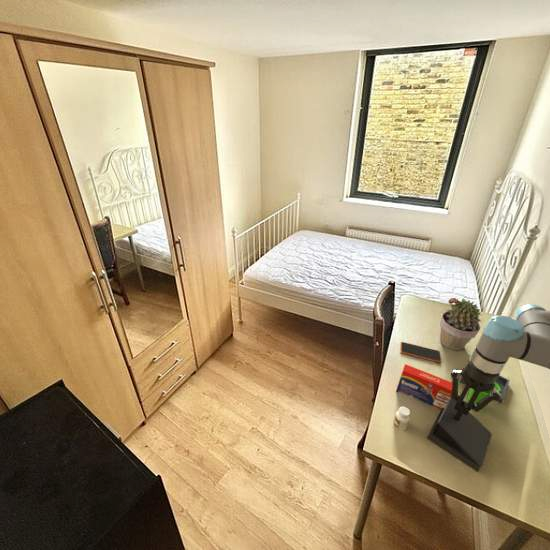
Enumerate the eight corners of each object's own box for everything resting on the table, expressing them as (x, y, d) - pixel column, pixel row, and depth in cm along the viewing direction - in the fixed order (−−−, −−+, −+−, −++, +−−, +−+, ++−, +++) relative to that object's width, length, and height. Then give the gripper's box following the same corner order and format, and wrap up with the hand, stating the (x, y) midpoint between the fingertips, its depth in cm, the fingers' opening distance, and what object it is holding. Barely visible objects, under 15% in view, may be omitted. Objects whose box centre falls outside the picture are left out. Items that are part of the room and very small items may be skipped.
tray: (507, 383, 118) (509, 380, 117) (501, 404, 110) (503, 400, 109) (468, 364, 126) (470, 361, 125) (459, 382, 118) (461, 378, 117)
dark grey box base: (426, 439, 97) (428, 433, 95) (439, 413, 106) (442, 407, 104) (476, 473, 88) (480, 467, 87) (486, 441, 97) (490, 435, 95)
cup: (494, 415, 105) (507, 395, 100) (470, 415, 105) (481, 395, 100) (479, 394, 113) (490, 374, 108) (456, 394, 113) (466, 374, 108)
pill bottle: (391, 418, 103) (396, 404, 100) (403, 419, 103) (408, 405, 99) (395, 430, 100) (400, 416, 96) (408, 431, 99) (413, 417, 96)
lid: (437, 422, 92) (439, 421, 91) (450, 395, 100) (452, 394, 100) (479, 466, 87) (482, 466, 86) (490, 434, 95) (492, 434, 95)
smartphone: (400, 342, 138) (400, 341, 137) (439, 352, 133) (439, 350, 132) (400, 353, 132) (400, 351, 131) (441, 363, 127) (441, 362, 126)
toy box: (448, 406, 108) (458, 384, 103) (447, 414, 105) (457, 392, 100) (398, 384, 117) (404, 363, 111) (395, 391, 114) (402, 370, 108)
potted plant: (486, 353, 133) (508, 308, 120) (449, 360, 129) (469, 314, 116) (456, 328, 148) (473, 286, 136) (423, 333, 144) (437, 291, 132)
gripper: (515, 370, 81) (483, 422, 92) (463, 346, 88) (439, 397, 100) (510, 386, 76) (477, 439, 88) (455, 359, 84) (432, 411, 95)
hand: (457, 417), depth 94 cm, fingers closed
